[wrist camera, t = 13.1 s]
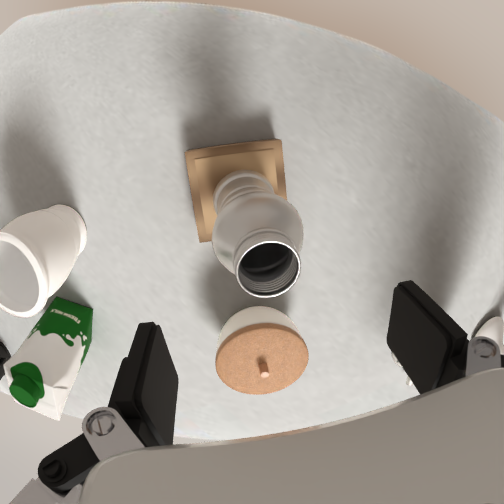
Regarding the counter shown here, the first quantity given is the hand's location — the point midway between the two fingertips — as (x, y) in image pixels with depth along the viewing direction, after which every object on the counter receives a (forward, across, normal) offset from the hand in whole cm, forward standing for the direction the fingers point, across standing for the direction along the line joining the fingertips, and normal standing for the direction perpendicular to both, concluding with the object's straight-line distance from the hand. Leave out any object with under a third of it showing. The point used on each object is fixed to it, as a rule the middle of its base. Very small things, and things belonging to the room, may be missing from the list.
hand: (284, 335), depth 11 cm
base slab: (+30, 0, 0) cm, 30 cm away
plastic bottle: (+26, 0, 0) cm, 26 cm away
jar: (+30, +26, +2) cm, 40 cm away
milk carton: (+30, +30, +17) cm, 46 cm away
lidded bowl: (+30, 0, +22) cm, 37 cm away
